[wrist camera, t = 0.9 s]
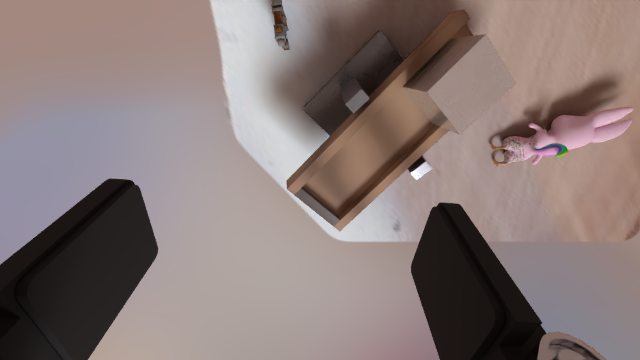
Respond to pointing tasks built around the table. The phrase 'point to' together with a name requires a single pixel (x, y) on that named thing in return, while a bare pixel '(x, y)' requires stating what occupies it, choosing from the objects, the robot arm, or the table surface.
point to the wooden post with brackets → (280, 24)
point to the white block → (460, 82)
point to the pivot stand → (358, 89)
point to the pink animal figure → (565, 135)
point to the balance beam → (374, 139)
